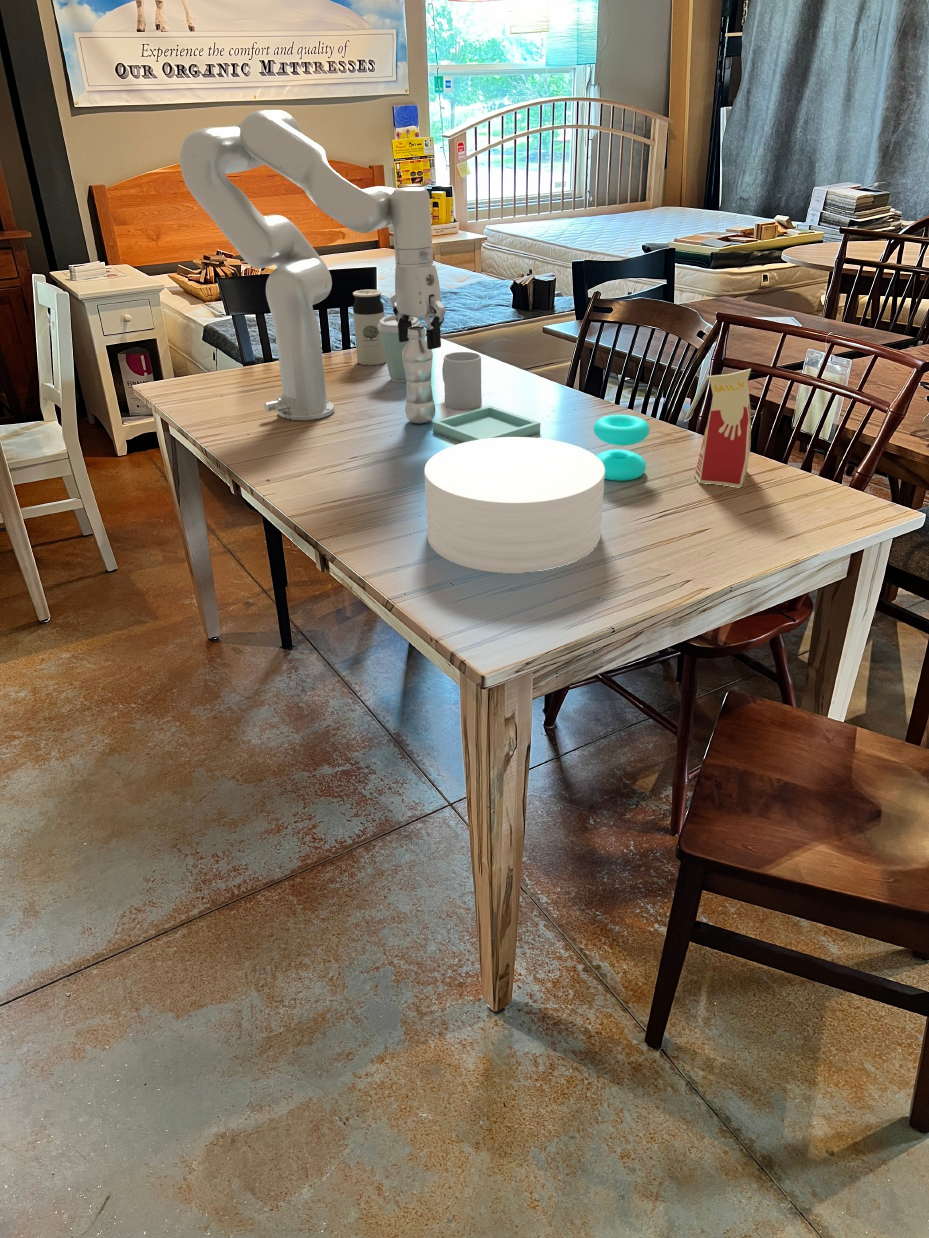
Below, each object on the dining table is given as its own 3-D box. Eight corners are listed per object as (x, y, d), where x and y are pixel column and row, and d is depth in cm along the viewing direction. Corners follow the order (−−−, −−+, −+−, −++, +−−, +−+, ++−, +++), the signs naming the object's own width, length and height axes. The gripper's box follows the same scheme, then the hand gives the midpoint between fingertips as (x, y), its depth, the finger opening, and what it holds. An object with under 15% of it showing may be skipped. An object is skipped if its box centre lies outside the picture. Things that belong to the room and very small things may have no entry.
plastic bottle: (442, 421, 190) (439, 327, 179) (420, 429, 186) (415, 333, 175) (421, 415, 194) (417, 323, 183) (399, 422, 189) (393, 328, 179)
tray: (482, 451, 173) (482, 440, 172) (433, 431, 184) (432, 421, 183) (540, 433, 182) (540, 422, 181) (489, 415, 193) (489, 405, 191)
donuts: (629, 409, 162) (661, 424, 155) (625, 460, 168) (656, 477, 160) (583, 417, 159) (614, 433, 151) (581, 469, 164) (610, 487, 156)
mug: (489, 405, 199) (488, 357, 193) (458, 412, 195) (457, 363, 189) (459, 393, 207) (458, 346, 202) (429, 400, 203) (427, 352, 198)
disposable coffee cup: (422, 385, 214) (419, 322, 206) (378, 385, 214) (374, 323, 207) (424, 373, 223) (421, 312, 215) (382, 374, 223) (378, 313, 216)
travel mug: (360, 358, 237) (355, 289, 228) (389, 358, 236) (385, 289, 227) (354, 366, 230) (348, 295, 221) (384, 366, 230) (379, 295, 220)
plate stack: (469, 589, 125) (468, 516, 119) (402, 517, 147) (399, 452, 141) (634, 551, 134) (640, 482, 128) (548, 489, 156) (550, 427, 151)
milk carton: (746, 471, 162) (764, 363, 151) (743, 489, 154) (761, 377, 144) (696, 466, 164) (710, 359, 154) (691, 483, 157) (705, 373, 146)
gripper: (456, 258, 168) (460, 347, 177) (403, 250, 180) (409, 335, 189) (425, 263, 164) (431, 354, 173) (373, 255, 176) (381, 341, 185)
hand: (419, 344), depth 181 cm, fingers open, 9 cm apart
